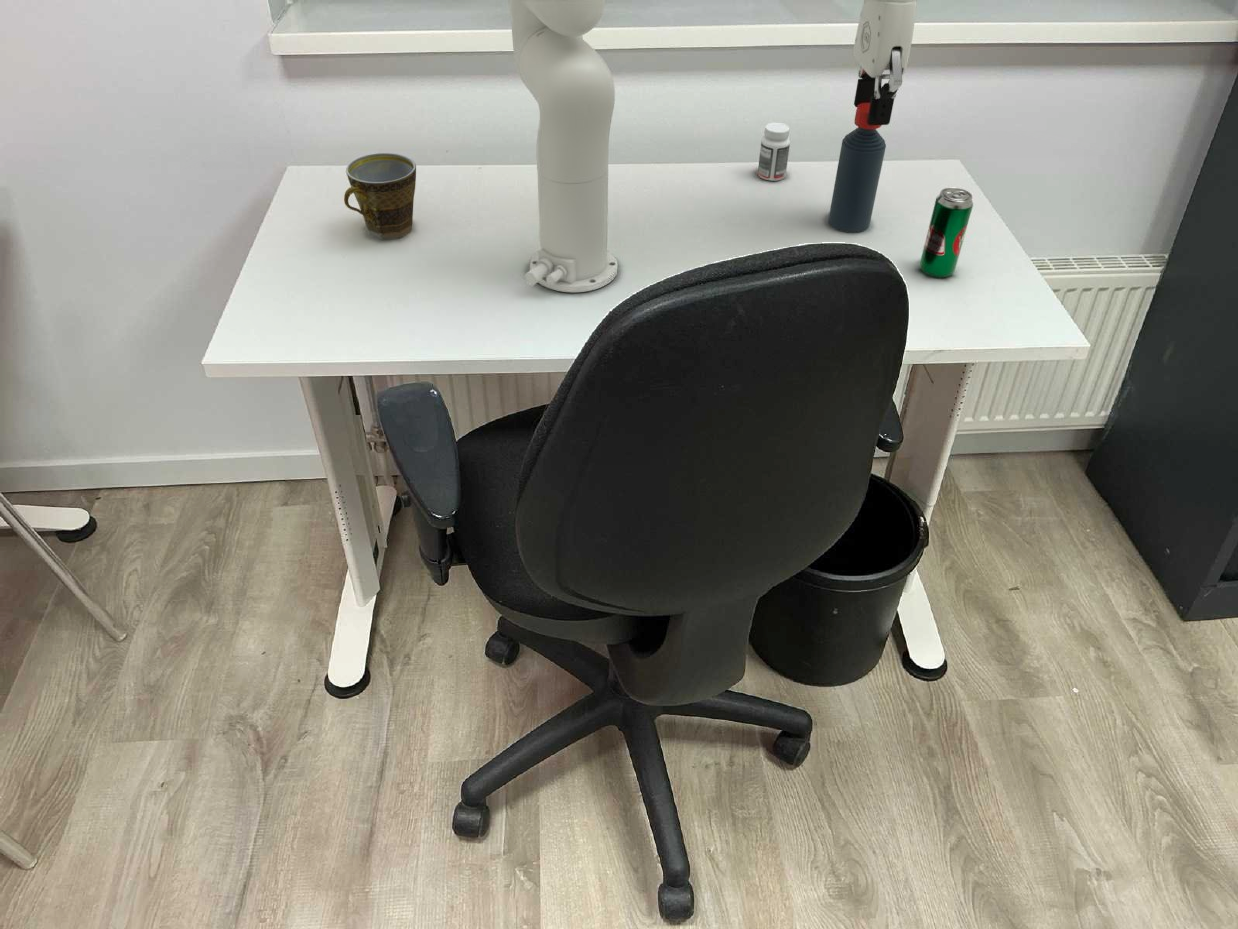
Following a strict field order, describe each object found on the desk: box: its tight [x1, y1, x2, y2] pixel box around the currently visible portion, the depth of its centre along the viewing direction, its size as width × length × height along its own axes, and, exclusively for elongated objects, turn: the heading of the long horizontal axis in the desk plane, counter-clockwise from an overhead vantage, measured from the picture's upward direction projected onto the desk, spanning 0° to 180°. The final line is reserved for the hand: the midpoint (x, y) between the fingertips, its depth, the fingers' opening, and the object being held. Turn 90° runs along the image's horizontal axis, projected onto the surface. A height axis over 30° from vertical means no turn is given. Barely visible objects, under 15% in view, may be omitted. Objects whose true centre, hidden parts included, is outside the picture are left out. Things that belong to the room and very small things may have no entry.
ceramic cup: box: [343, 152, 417, 241], centre depth 147 cm, size 13×10×10 cm
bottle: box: [827, 126, 887, 234], centre depth 150 cm, size 6×6×18 cm
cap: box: [854, 103, 883, 130], centre depth 144 cm, size 4×4×2 cm
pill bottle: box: [757, 122, 791, 182], centre depth 165 cm, size 5×5×8 cm
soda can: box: [919, 187, 974, 279], centre depth 141 cm, size 5×5×12 cm
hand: (871, 113), depth 144 cm, fingers open, 5 cm apart
